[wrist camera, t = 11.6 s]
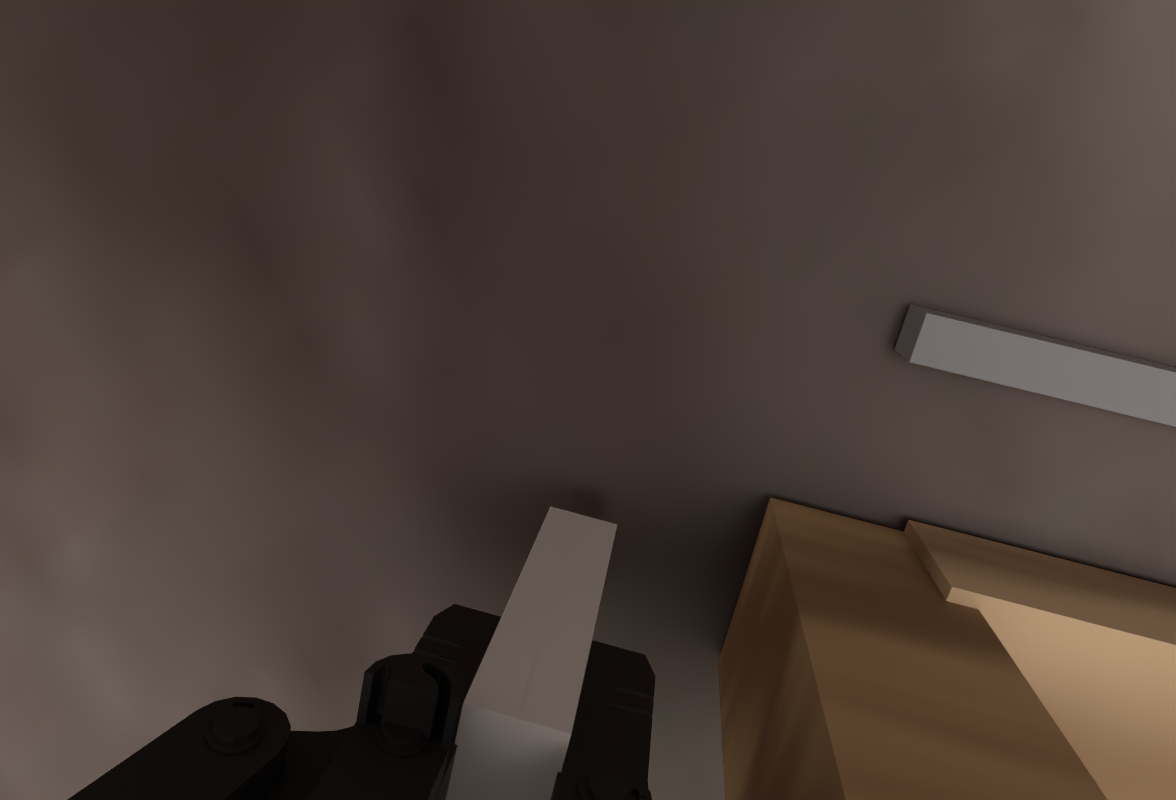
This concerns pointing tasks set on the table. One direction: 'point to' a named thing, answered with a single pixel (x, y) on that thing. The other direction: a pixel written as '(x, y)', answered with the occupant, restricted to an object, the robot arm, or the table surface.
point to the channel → (1039, 364)
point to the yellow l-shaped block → (941, 670)
